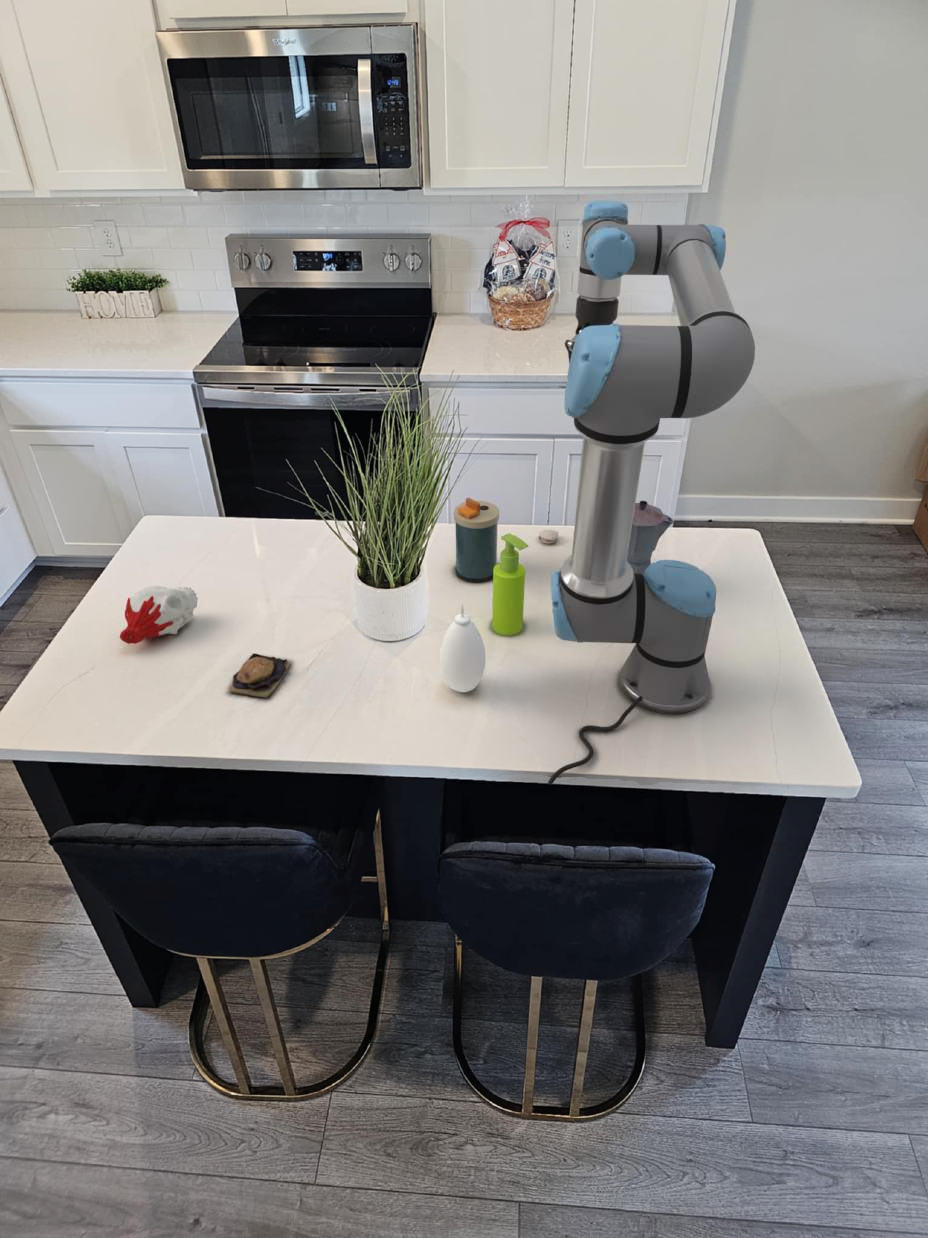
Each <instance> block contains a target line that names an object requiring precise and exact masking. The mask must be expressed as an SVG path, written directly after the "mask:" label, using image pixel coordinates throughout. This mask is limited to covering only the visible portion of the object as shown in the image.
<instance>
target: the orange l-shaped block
mask: <svg viewBox="0 0 928 1238" xmlns="http://www.w3.org/2000/svg"><path fill="white" fill-rule="evenodd" d="M476 501H477V500H474V499H472V498H470V497H466V498H465V502H466V505H465V506H463V507H460V508H458V512H459V513H460V514H462V515H464V516H466V517H467V518H471V517H474V516H476V515H478V514H480V503H478V502H476Z"/></svg>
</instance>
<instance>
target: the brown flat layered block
mask: <svg viewBox="0 0 928 1238" xmlns="http://www.w3.org/2000/svg"><path fill="white" fill-rule="evenodd" d="M290 666H291V662H290V661H289V660H288V659H287V658H285V659H282V658H280V657H279V658H276V657H275V656H268V655H262V654H258V653H255V652H254V653H252V654H251V655H250V657H249V658H248V659H247V660H246V661H244V663H242V666H241V667H240V670H238V671H237V672H236V673H234V674H233V675H232V684H231V686H230V687H229V693H232V694H240V695H248V696H251V697H258V698H264V699H268V697H270V695H272V693H273V692H274V691H275V690H276V689H277V687H278V686H279V685H280V683H281V682H282V680H283V679H284V676H285V675H286V674H287V671H288V670H289V668H290Z"/></svg>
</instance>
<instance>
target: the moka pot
mask: <svg viewBox="0 0 928 1238" xmlns="http://www.w3.org/2000/svg"><path fill="white" fill-rule="evenodd" d="M673 524H675V521H674V519H673V517H671V516H669V515H667V514H665V513H663V511H662V510H661V508H660V507H658V506H654V505H651V504H648V501H647V500H640V501H639V502H635V509H634V515H633V522H632V528H631V535H630V541H629V548H628V554H627V562H628V563H629V564H630V565H631V567H632V569H633V572H634V573H639V574H644V573H645V570H646V569H647V567H648V566H649V565H650V564H651V563H652V556H653V552H655V550H656V549H657V546H658V544H659V540H660V538H661V537H662V536H663V535H664V534H665V532H666V531H667V530H668V528H670V526H671V525H673Z"/></svg>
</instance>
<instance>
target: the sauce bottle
mask: <svg viewBox="0 0 928 1238" xmlns="http://www.w3.org/2000/svg"><path fill="white" fill-rule="evenodd" d="M441 642H442V643H441V645H440V650H439V669H440V672H441V676H442V678H443V681H444V682H445V684H446V685H447V686H448V687H449V688H450V689H451V690H453V691H455V692H458V693H469V692H470V691H472V690H474V689H475V688H476V687H478V685H479V684H480V682H481V680H482V678H483V675H484V672H485V670H486V649H485V644H484V639H483V638H482V635H481V633H480V631H479V629H478V627H477V626H476V625H475V624H474V622H473V621H472V620H471V617H470V615H468V614H466V613H465V611H464V604H463V603H461V607H460V613H458V614H456V615H455V617H454V620H453V621H452V622H451V624H450V625H449V626H448V628H447V629H446V632H445V634H444V637H443V639H442V641H441Z"/></svg>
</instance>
